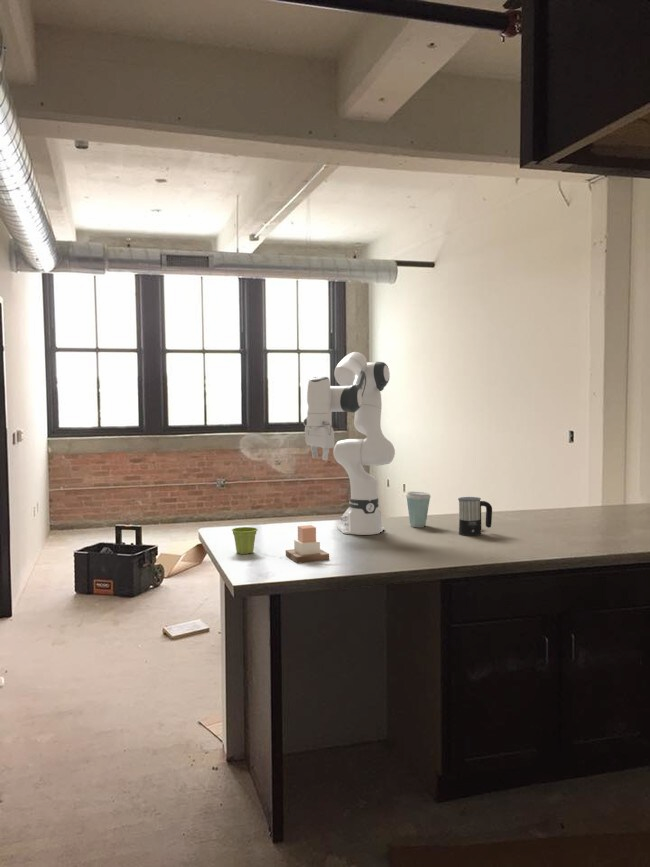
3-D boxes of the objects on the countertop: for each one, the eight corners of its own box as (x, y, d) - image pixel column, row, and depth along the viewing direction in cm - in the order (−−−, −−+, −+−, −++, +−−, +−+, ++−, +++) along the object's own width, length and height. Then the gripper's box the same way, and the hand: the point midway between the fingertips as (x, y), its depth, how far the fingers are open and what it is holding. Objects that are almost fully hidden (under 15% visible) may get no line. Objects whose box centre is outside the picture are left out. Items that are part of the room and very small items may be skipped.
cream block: (294, 550, 250) (294, 539, 250) (312, 549, 253) (312, 538, 253) (301, 555, 244) (301, 543, 243) (319, 553, 246) (319, 541, 246)
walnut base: (285, 555, 252) (285, 550, 252) (316, 552, 256) (316, 547, 256) (297, 563, 241) (296, 557, 240) (329, 559, 245) (329, 553, 245)
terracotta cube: (297, 540, 249) (297, 526, 249) (310, 538, 251) (310, 525, 251) (302, 542, 245) (302, 528, 245) (316, 541, 247) (315, 527, 246)
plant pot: (234, 549, 262) (233, 526, 262) (259, 549, 262) (259, 526, 261) (230, 555, 253) (229, 531, 252) (256, 555, 252) (255, 531, 252)
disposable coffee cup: (420, 523, 312) (420, 489, 312) (435, 526, 303) (435, 492, 302) (401, 525, 307) (401, 491, 306) (416, 529, 298) (416, 494, 297)
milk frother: (466, 537, 281) (466, 500, 280) (445, 530, 296) (445, 495, 295) (495, 534, 287) (495, 498, 286) (473, 527, 301) (473, 493, 300)
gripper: (338, 422, 247) (339, 461, 247) (317, 420, 266) (317, 456, 266) (322, 422, 244) (322, 461, 245) (301, 420, 263) (302, 457, 264)
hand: (319, 459), depth 256 cm, fingers open, 8 cm apart
